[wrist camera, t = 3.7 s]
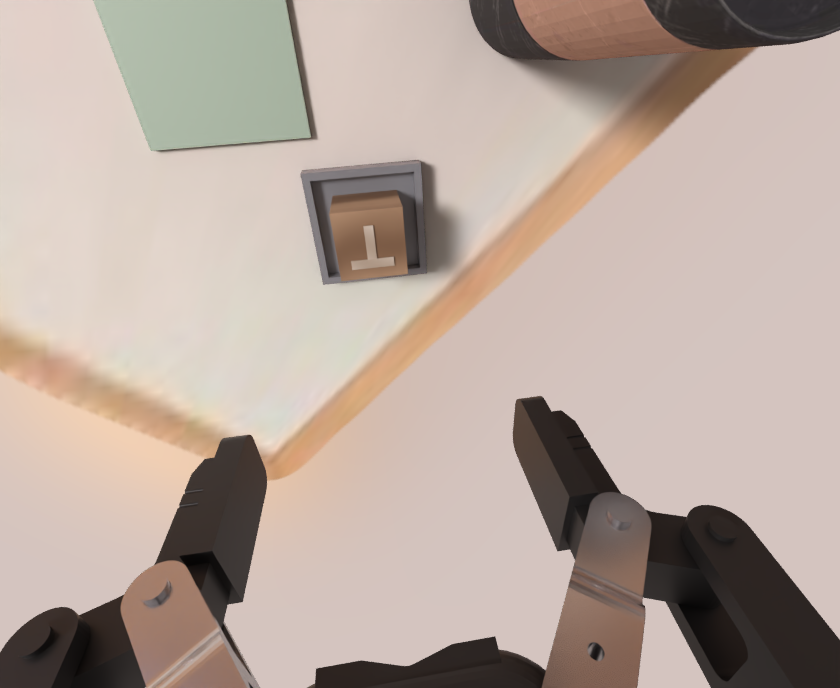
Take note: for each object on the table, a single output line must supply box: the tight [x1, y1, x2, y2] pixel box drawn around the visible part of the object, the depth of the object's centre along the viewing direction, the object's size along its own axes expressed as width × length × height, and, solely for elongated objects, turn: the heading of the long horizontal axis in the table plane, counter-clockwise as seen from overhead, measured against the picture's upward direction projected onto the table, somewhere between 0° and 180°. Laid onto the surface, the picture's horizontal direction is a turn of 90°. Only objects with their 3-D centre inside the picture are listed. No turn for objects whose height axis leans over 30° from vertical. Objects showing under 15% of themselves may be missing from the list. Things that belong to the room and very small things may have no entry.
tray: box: [301, 160, 427, 285], centre depth 30 cm, size 8×8×1 cm
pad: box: [93, 0, 311, 151], centre depth 24 cm, size 10×10×1 cm
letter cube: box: [329, 190, 408, 281], centre depth 29 cm, size 5×4×5 cm
